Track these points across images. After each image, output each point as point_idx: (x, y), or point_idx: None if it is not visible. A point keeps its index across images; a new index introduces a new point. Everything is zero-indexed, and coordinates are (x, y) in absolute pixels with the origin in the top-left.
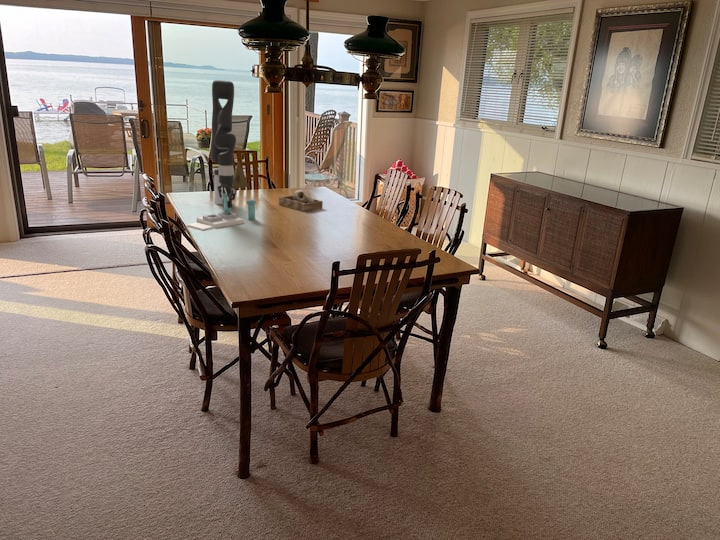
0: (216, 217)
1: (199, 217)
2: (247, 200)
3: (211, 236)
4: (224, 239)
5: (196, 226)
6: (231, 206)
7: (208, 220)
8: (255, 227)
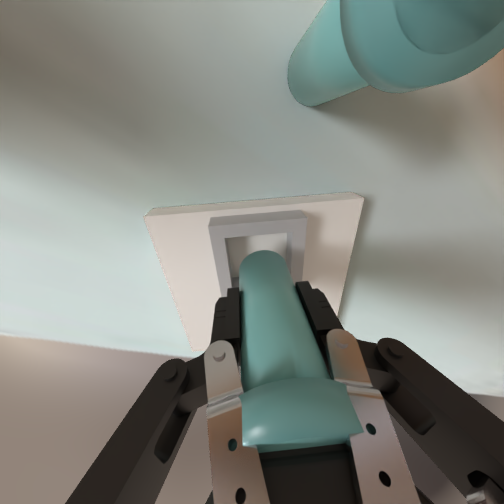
0: None
1: (197, 344)
2: (376, 18)
3: None
4: (442, 344)
5: None
6: (320, 294)
7: None
8: (465, 188)
